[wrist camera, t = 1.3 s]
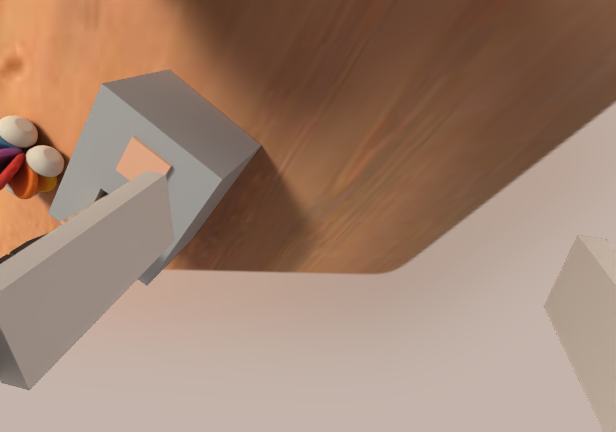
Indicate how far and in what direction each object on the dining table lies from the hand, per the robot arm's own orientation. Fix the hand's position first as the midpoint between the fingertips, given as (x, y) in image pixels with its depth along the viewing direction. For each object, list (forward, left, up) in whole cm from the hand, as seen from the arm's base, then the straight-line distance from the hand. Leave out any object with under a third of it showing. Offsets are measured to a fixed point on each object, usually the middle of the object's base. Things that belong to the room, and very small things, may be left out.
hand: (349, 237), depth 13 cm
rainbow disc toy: (-29, -33, -27) cm, 51 cm away
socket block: (-13, -20, -27) cm, 36 cm away
